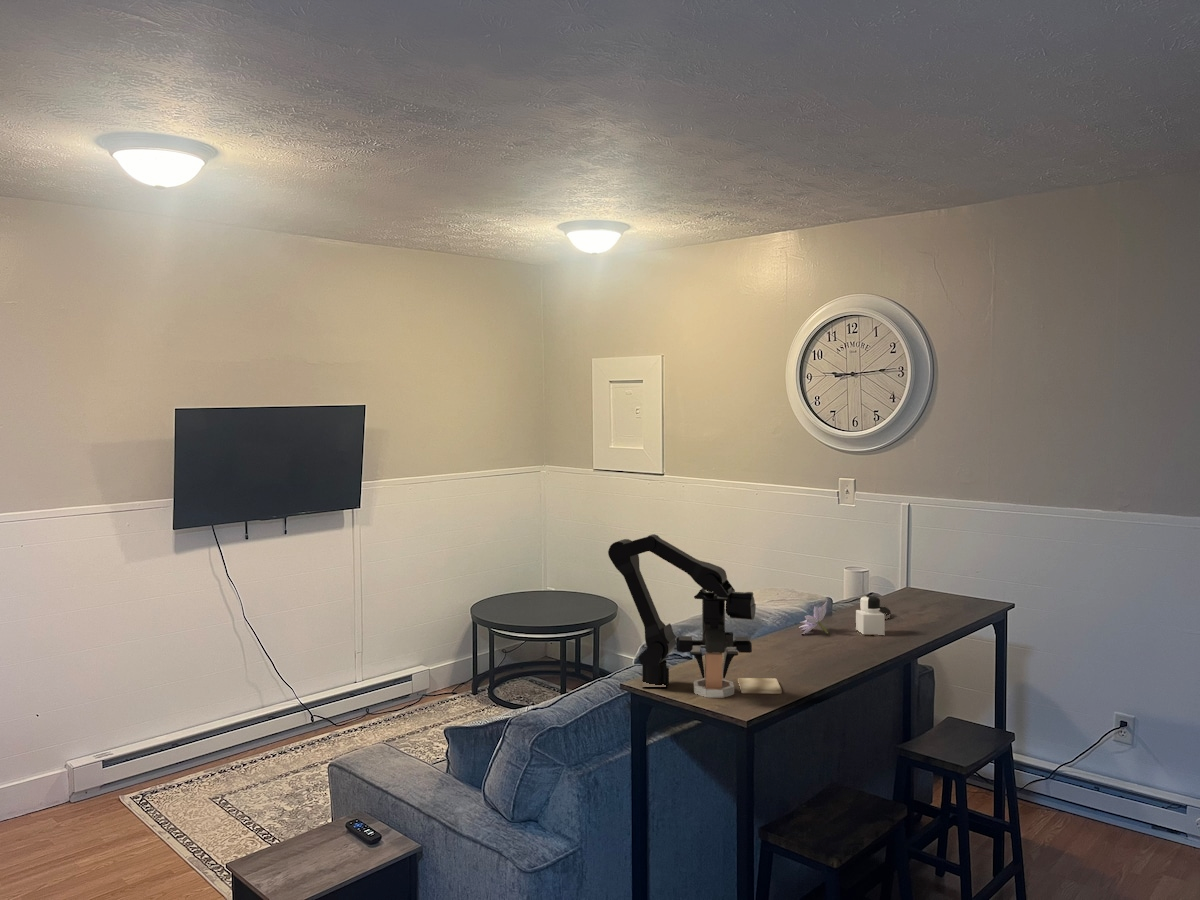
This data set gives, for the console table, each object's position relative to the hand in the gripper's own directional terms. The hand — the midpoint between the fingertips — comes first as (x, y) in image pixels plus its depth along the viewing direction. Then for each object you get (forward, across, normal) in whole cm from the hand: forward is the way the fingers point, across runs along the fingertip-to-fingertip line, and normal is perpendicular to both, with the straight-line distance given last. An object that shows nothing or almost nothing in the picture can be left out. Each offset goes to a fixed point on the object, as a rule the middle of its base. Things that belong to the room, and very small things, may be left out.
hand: (713, 677), depth 225 cm
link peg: (+4, 0, 0) cm, 4 cm away
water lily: (+4, +37, +66) cm, 76 cm away
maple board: (+4, +12, +4) cm, 13 cm away
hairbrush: (+4, +60, +84) cm, 104 cm away
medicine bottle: (+4, +55, +65) cm, 85 cm away
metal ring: (+4, 0, 0) cm, 4 cm away
